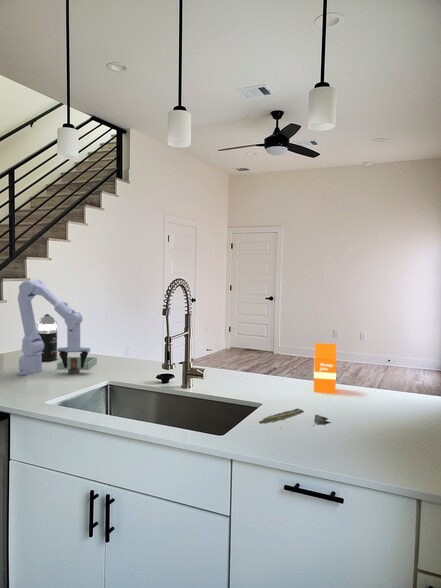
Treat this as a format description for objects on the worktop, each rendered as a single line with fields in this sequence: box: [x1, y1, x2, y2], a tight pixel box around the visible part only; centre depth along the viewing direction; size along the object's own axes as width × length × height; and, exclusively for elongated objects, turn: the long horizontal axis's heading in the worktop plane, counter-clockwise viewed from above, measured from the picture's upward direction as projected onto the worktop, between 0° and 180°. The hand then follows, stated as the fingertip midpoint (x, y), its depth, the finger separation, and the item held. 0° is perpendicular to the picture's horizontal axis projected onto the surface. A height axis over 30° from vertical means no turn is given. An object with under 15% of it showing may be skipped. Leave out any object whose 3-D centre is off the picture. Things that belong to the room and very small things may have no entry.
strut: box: [67, 358, 81, 375], centre depth 198 cm, size 4×4×7 cm
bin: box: [56, 356, 98, 371], centre depth 213 cm, size 15×15×4 cm
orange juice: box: [313, 342, 337, 395], centre depth 179 cm, size 8×9×20 cm
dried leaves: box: [258, 408, 332, 429], centre depth 141 cm, size 25×19×2 cm
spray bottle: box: [36, 313, 58, 362], centre depth 230 cm, size 10×10×25 cm
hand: (74, 367), depth 198 cm, fingers open, 7 cm apart
